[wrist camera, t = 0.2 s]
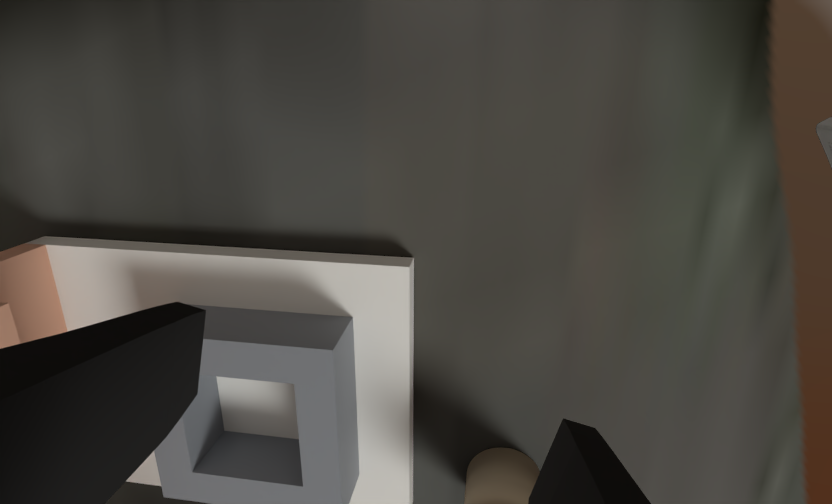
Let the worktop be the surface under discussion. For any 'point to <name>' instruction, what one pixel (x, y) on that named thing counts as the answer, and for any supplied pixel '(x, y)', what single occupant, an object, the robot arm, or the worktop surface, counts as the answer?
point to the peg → (500, 477)
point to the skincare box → (826, 137)
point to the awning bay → (251, 361)
